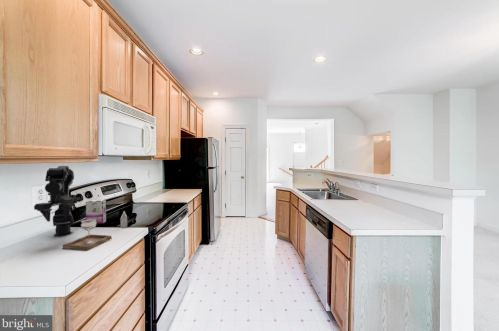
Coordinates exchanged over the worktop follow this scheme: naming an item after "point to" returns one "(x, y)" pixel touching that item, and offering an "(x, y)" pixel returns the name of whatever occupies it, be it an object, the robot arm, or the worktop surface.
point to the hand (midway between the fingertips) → (57, 219)
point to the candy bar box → (96, 210)
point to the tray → (79, 242)
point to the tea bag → (123, 220)
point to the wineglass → (88, 227)
